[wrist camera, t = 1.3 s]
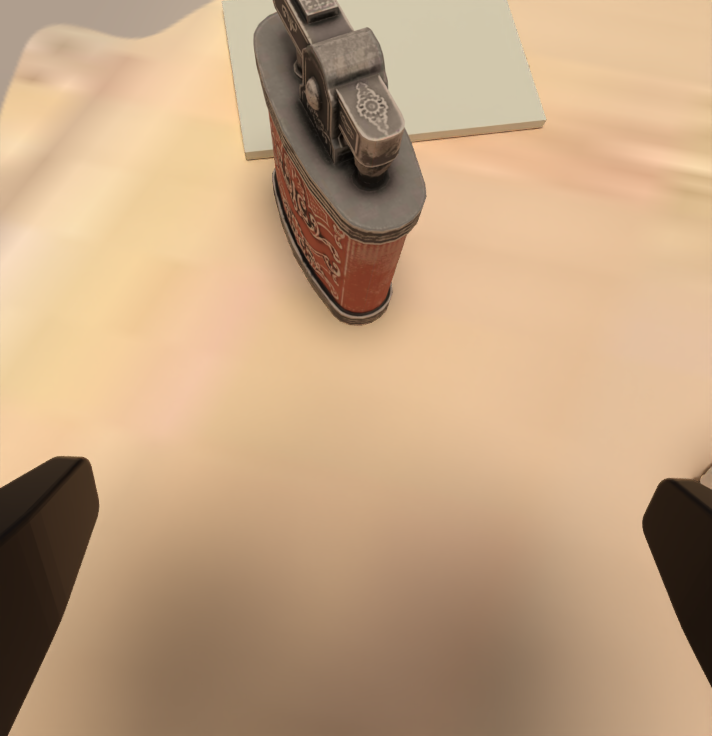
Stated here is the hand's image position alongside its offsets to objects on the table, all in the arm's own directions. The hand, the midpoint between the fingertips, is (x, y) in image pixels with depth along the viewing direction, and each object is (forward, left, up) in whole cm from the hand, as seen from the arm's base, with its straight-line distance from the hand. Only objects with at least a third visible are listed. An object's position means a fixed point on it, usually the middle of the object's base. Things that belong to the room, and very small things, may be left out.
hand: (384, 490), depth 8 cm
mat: (+5, +19, -12) cm, 23 cm away
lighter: (+1, +11, -12) cm, 16 cm away
